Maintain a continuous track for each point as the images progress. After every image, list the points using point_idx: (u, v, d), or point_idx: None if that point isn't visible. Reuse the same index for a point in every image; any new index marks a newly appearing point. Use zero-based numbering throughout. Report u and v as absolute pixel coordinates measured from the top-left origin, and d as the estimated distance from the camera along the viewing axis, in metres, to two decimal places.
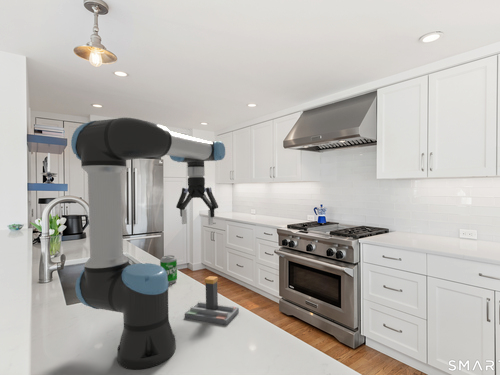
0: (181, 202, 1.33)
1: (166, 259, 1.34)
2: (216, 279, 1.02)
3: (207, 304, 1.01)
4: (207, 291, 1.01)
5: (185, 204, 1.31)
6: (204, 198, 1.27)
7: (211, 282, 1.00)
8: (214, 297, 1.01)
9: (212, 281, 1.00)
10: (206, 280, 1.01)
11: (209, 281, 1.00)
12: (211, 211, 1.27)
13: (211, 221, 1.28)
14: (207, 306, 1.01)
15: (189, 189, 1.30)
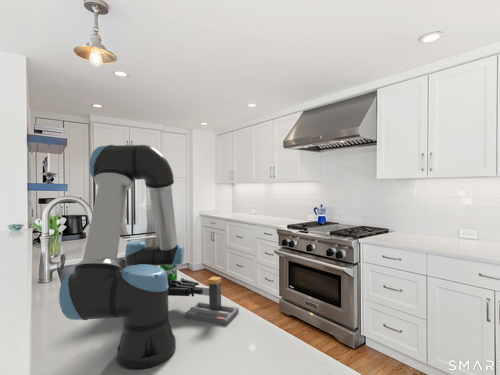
0: None
1: None
2: (219, 279, 1.01)
3: (210, 304, 1.00)
4: (210, 291, 1.00)
5: None
6: (184, 282, 1.09)
7: (215, 282, 0.99)
8: (218, 298, 1.00)
9: (215, 281, 0.99)
10: (209, 280, 1.00)
11: (212, 281, 1.00)
12: None
13: None
14: (210, 307, 1.00)
15: None
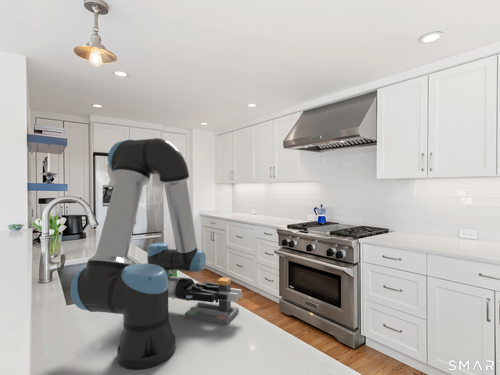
0: None
1: None
2: (229, 280, 1.00)
3: (220, 306, 0.99)
4: None
5: None
6: (209, 285, 1.05)
7: (224, 284, 0.98)
8: None
9: (225, 282, 0.98)
10: (219, 281, 0.99)
11: (222, 283, 0.98)
12: None
13: None
14: (220, 308, 0.99)
15: (188, 289, 1.02)
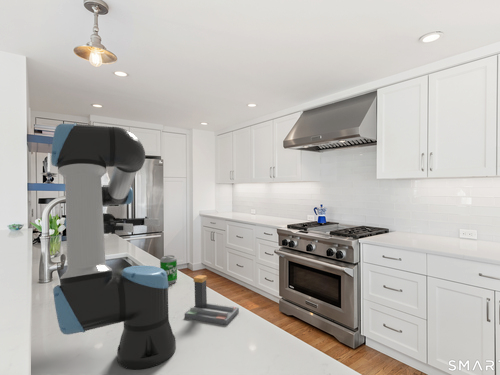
0: None
1: (166, 259, 1.34)
2: (205, 278, 1.03)
3: (196, 302, 1.03)
4: (196, 290, 1.02)
5: None
6: (130, 219, 1.10)
7: (200, 281, 1.02)
8: (203, 296, 1.02)
9: (200, 279, 1.01)
10: (195, 279, 1.02)
11: (198, 280, 1.02)
12: None
13: None
14: (196, 304, 1.03)
15: (105, 221, 1.04)
